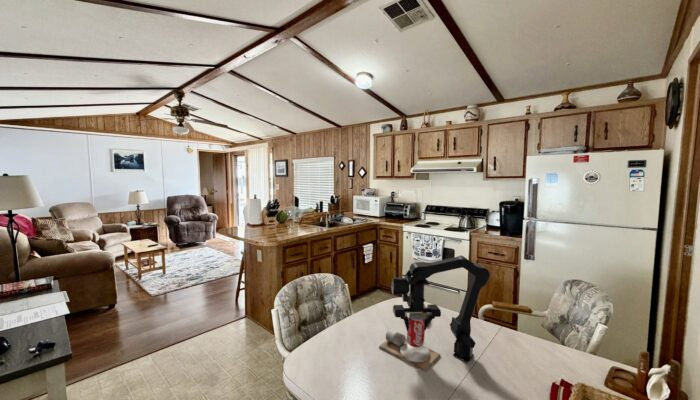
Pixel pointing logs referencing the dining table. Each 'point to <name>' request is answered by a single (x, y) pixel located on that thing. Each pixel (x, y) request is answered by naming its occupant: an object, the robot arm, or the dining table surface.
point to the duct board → (408, 351)
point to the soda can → (416, 330)
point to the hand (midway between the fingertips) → (415, 330)
